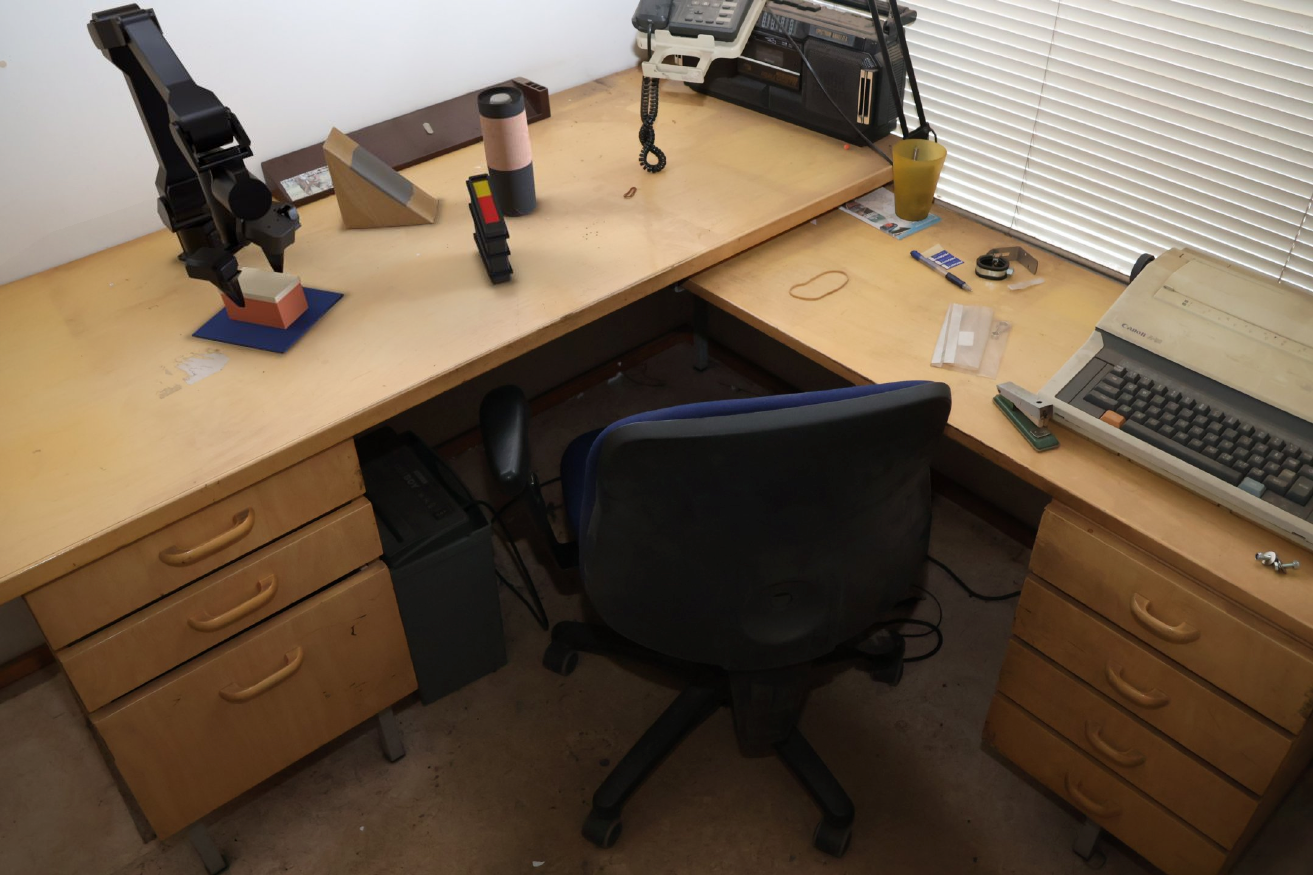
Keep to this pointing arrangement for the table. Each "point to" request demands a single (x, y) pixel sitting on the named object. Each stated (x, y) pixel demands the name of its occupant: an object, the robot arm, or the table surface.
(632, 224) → the table surface
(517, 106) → the travel mug
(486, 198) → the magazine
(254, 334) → the blue cloth
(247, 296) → the box
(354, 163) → the sandwich container
